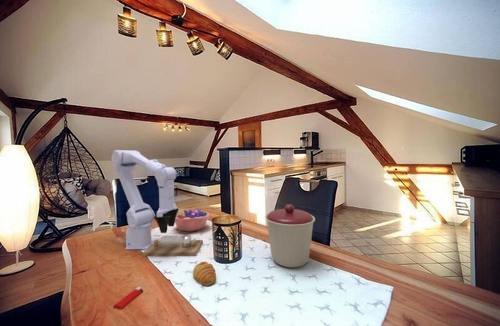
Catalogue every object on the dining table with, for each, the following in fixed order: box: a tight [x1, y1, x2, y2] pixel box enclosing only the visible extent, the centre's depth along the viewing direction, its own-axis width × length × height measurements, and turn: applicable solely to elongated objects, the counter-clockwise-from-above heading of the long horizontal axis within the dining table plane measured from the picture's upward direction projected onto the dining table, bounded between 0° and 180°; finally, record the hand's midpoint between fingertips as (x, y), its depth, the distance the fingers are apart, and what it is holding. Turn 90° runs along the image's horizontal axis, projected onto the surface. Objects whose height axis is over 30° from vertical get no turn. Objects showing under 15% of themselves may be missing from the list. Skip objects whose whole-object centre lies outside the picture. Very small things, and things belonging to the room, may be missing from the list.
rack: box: [142, 238, 204, 257], centre depth 88 cm, size 21×12×4 cm, turn 89°
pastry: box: [192, 261, 217, 287], centre depth 67 cm, size 9×7×4 cm
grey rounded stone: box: [159, 234, 192, 248], centre depth 88 cm, size 12×4×4 cm, turn 89°
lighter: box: [113, 286, 144, 310], centre depth 58 cm, size 3×1×8 cm
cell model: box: [174, 208, 210, 232], centre depth 112 cm, size 17×20×11 cm
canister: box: [264, 203, 316, 268], centre depth 77 cm, size 18×18×21 cm
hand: (167, 229), depth 86 cm, fingers open, 7 cm apart
